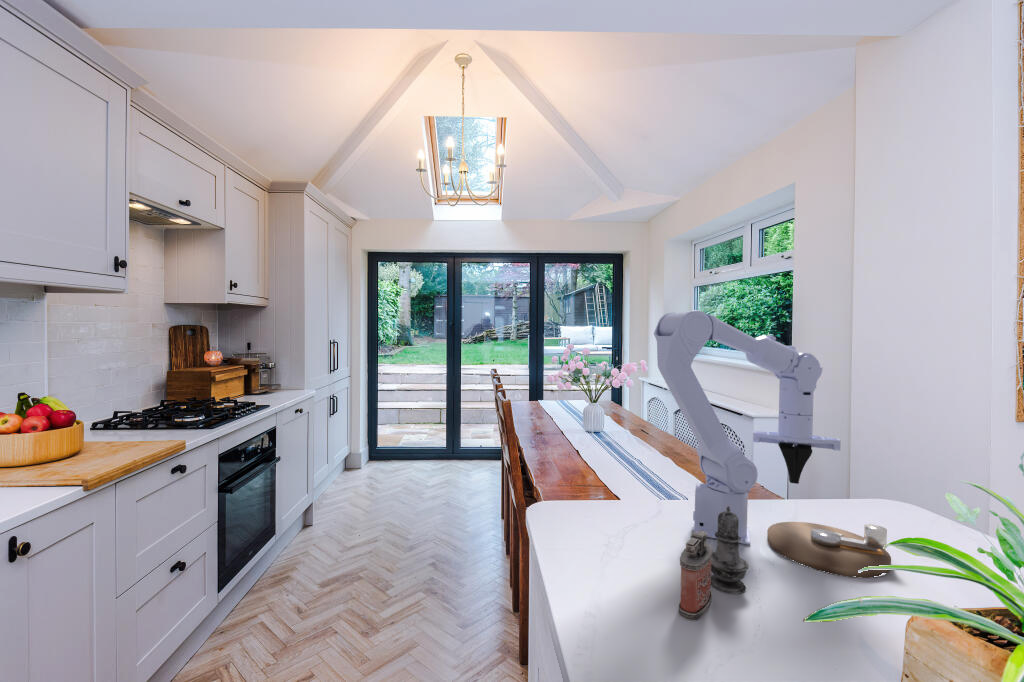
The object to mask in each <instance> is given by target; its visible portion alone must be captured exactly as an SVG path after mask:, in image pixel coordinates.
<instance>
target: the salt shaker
mask: <svg viewBox="0 0 1024 682" xmlns="http://www.w3.org/2000/svg"><path fill="white" fill-rule="evenodd" d="M726 509H727V511H724V512H721V513H719V515H718V532H716V533H715V536H716V537H717V539H716V549H715V551H713V555H712V558H711V587H712V588H714V589H715V590H717V591H719V592H720V593H721V592H722V593H724V594H728V595H741V594H743V593H746V591H747V587H746V584H745V583H744V582H743V581H742V580H743V579H744V578H745V576H746V574H747V570H749V567H750V566H749V563H748V562H747V560H745V559H743V557H740V552H739V551H740V550H739V549H740V548H739V546H740V545H739V544H740V543H739V541H741V538H740V536H738V526H739V520H738V517H737V516H736V515H735V514H734V513H732V512H730V510H731V509H730V507H729V506H728V507H727V508H726Z"/></svg>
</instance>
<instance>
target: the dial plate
mask: <svg viewBox="0 0 1024 682" xmlns="http://www.w3.org/2000/svg"><path fill="white" fill-rule="evenodd" d="M812 529H823V530H828V531H831V532H834V533H836V534H838V535H839V536H841V537H846V538H851V539H857V540H862V541H864V536H861V535H859V534H856V533H854V532H851V531H848V530H846V529H845V530H844V529H841V528H838V527H835V526H829V525H825V524H821V523H812V522H805V521H782V522H777V523H773V524H771V525H770V526H769V527H768V529H767V530H766V531H767V534H766V536H767V537H766V540H767V541H766V542H767V543H768V545H769V546H770V547H771V549H772V550H774V551H775V552H776V551H777V552H776V553H778V554H779V553H780V554H779V555H781V556H782V555H783V556H782V557H784V556H786V557H787V558H786V557H785V558H786V559H788V558H789V559H788V560H790V559H791V560H790V561H792V560H794V561H796V562H798V563H797V564H799V563H800V564H799V565H801V564H803V565H802V566H804V565H805V566H804V567H806V566H808V567H807V568H809V567H811V568H810V569H812V568H813V570H815V569H816V571H819V570H821V571H820V572H822V571H825V572H824V573H826V572H829V573H828V574H830V573H832V574H831V575H835V574H837V575H836V576H840V575H842V576H841V577H846V576H848V578H854V577H853V576H856V577H862V578H861V579H870V578H869V577H874V576H879V575H881V574H882V573H888V574H889V573H890V572H891V570H868V571H863V572H861V573H858V570H860V569H862V568H864V567H868V566H879V565H891V566H892V556H891V555H890V553H889V552H888V551H887V550H886V549H878V551H873V550H867V549H862V548H857V547H852V546H847V545H840V546H837V547H831V546H825V545H822V544H819V543H816V542H814V541H813V540H812V539H811V530H812ZM794 561H793V562H794ZM796 562H795V563H796Z"/></svg>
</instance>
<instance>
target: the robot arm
mask: <svg viewBox="0 0 1024 682" xmlns="http://www.w3.org/2000/svg"><path fill="white" fill-rule="evenodd" d="M653 336H654V337H655V340H656V351H657V352H656V354H657V355H656V356H657V357H656V358H657V367H658V370H659V373H660V374H661V376H662V378H663V380H664V382H665V384H666V385H667V387H668V389H669V391H670V393H671V395H672V396H673V398H674V401H675V402H676V404H677V406H678V407H679V409H680V412H681V414H682V415H683V417H684V419H685V421H686V422H687V425H688V426H689V429H690V430H691V432H692V434H693V436H694V438H695V440H696V442H697V443H698V446H697V447H696V449H695V451H696V453H697V455H698V459H699V468H700V470H701V472H702V473H703V474H704V475H705V482H706V483H705V482H704V483H701V482H696V484H695V490H694V491H695V493H694V511H693V512H692V513H693V514H692V515H693V516H692V520H693V521H694V524H693V525H694V527H693V528H694V529H693V532H695V533H697V532H698V531H705V532H707V538H711V539H716V540H717V537H716V536H715V533H716V532H718V515H719V513H721V512H724V511H727V509H726V508H727V507H728V506H729V507H730V509H731V510H730V512H732V513H734V514H735V515H736V516H737V517H738V520H739V526H738V536H740V538H741V541H739V544H743V545H751V537H750V530H749V526H748V507H749V502H748V501H749V500H748V499H749V498H748V497H749V496H748V495H749V494H750V493H751V490H752V489H753V487H754V486H755V485H756V483H757V480H758V475H759V474H758V470H757V467H756V465H755V463H754V462H753V461H752V460H751V459H748V458H747V456H745V454H744V452H743V450H742V449H741V448H740V447H739V446H738V445H736V444H735V442H733V440H731V439H730V438H729V437H728V434H727V433H726V431H725V428H724V427H723V425H722V423H721V422H720V419H719V418H718V415H717V414H716V412H715V410H714V408H713V406H712V404H711V402H710V400H709V398H708V397H707V395H706V393H705V391H704V390H703V389H704V388H703V387H702V385H701V383H700V381H699V379H698V378H697V375H696V374H695V372H694V371H693V368H692V364H693V361H694V359H695V357H697V356H698V354H699V352H700V351H701V350H702V349H703V347H704V346H705V345H706V344H707V342H708V341H714V342H716V343H719V344H722V345H724V346H727V347H729V348H731V349H734V350H737V351H739V352H742V353H744V354H745V357H746V359H747V362H749V363H751V364H753V365H755V366H757V367H760V368H761V369H764V370H766V371H768V372H770V373H772V374H773V375H774V376H775V377H776V378H777V379H778V380H779V384H778V385H779V392H778V393H779V394H778V427H777V428H778V430H777V431H762V430H761V431H760V430H753V431H752V441H753V443H765V444H766V443H767V444H775V445H776V444H777V446H778V447H779V449H780V452H781V454H782V456H783V459H784V462H785V466H786V468H787V473H788V481H789V483H791V484H797V485H799V484H800V478H801V475H802V472H803V470H804V467H805V465H806V463H807V462H808V461H809V459H810V458H811V457H812V454H813V449H812V448H817V449H828V450H834V451H839V452H840V451H841V440H840V439H839V438H837V437H836V438H835V437H827V436H822V435H821V436H820V435H813V429H814V428H813V426H814V424H813V423H814V422H813V421H814V392H815V391H816V389H817V382H818V380H819V379H820V377H821V376H822V373H823V367H821V364H820V361H819V359H817V357H816V356H815V355H814V354H812V353H808V352H799V351H798V350H797V349H796V347H795V346H792V345H785V344H783V343H782V342H779V341H777V337H776V336H774V335H770V334H769V335H768V334H767V335H759V336H757V337H753V336H752V335H750V334H747V333H745V332H743V331H742V330H740V329H739V328H736V327H734V326H732V325H730V324H728V323H726V322H725V321H722V320H721V319H719V318H718V317H717V316H715V315H711V314H707V313H705V312H703V311H702V310H697V309H696V310H690V311H685V312H684V311H683V312H673V311H672V312H667V313H666V314H664V315H662V316H661V317H660V319H659V320H658V322H657V323H656V327H655V330H654V331H653Z"/></svg>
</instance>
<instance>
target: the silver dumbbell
mask: <svg viewBox="0 0 1024 682" xmlns="http://www.w3.org/2000/svg"><path fill="white" fill-rule="evenodd" d="M863 532H864V533H863V537H864V541H862V540H857V539H851V538H846V537H841V536H839V535H838V534H836V533H834V532H831V531H828V530H823V529H812V530H811V539H812V540H813V541H814V542H816V543H819V544H822V545H825V546H831V547H837V546H840V545H847V546H852V547H857V548H862V549H867V550H873V551H878V549H883V547H884V545H886V544H887V542H888V539H887V538H888V530H887V528H885V527H883V526H881V525H878V524H875V523H874V524H873V523H866V524H864V531H863ZM887 545H888V544H887Z"/></svg>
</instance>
